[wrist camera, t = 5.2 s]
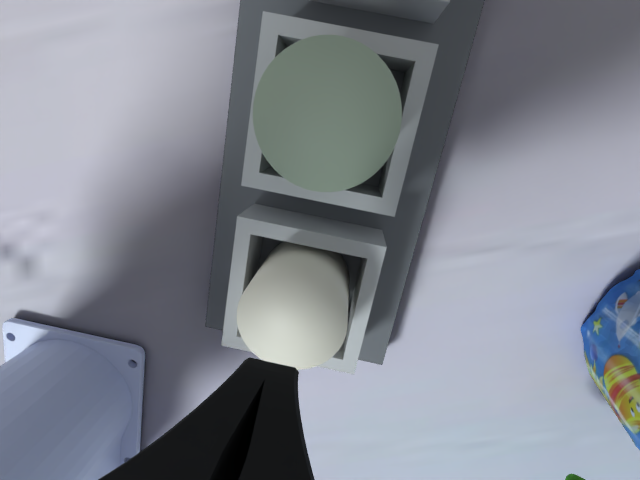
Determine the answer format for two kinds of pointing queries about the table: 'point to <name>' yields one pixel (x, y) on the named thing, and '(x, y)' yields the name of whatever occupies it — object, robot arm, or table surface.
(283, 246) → the cream button
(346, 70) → the sage button
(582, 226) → the table surface
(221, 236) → the button panel
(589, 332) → the snack cup
